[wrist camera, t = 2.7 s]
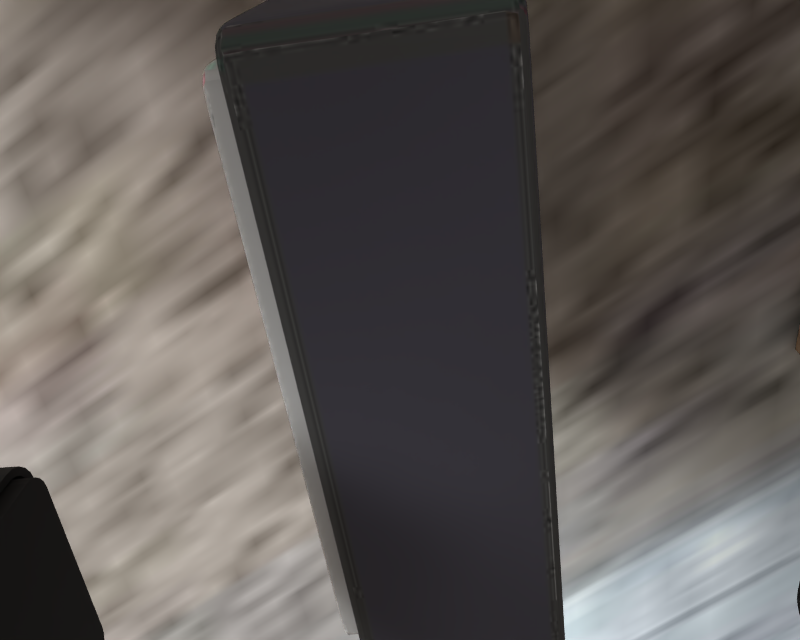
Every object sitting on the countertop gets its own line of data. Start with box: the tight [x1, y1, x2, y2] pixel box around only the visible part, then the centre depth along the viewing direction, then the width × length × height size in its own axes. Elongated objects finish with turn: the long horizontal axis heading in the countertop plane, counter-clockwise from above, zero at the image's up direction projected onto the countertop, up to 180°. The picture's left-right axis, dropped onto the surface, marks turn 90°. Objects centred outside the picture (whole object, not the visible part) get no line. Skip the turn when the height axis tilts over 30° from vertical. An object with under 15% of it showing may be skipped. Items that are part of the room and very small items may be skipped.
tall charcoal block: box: [202, 0, 565, 640], centre depth 17 cm, size 11×4×15 cm, turn 8°
